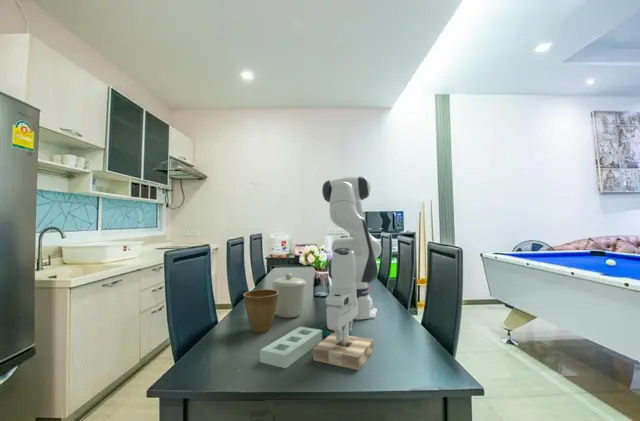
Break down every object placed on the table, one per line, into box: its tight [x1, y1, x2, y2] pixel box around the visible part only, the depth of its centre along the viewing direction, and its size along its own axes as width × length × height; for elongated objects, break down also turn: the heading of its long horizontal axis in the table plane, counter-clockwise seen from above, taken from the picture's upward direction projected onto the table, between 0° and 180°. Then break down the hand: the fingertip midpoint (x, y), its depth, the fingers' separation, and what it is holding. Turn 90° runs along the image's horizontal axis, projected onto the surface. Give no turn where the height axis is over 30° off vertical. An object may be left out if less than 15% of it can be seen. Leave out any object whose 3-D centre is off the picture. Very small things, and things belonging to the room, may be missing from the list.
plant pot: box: [243, 288, 278, 334], centre depth 131 cm, size 15×15×16 cm
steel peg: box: [340, 322, 349, 347], centre depth 105 cm, size 3×3×12 cm
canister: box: [270, 272, 307, 319], centre depth 153 cm, size 18×18×21 cm
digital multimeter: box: [314, 323, 352, 338], centre depth 125 cm, size 7×15×3 cm, turn 44°
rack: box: [259, 326, 323, 369], centre depth 109 cm, size 26×10×4 cm, turn 154°
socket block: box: [312, 333, 375, 371], centre depth 105 cm, size 16×16×4 cm
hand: (344, 335), depth 105 cm, fingers open, 7 cm apart
